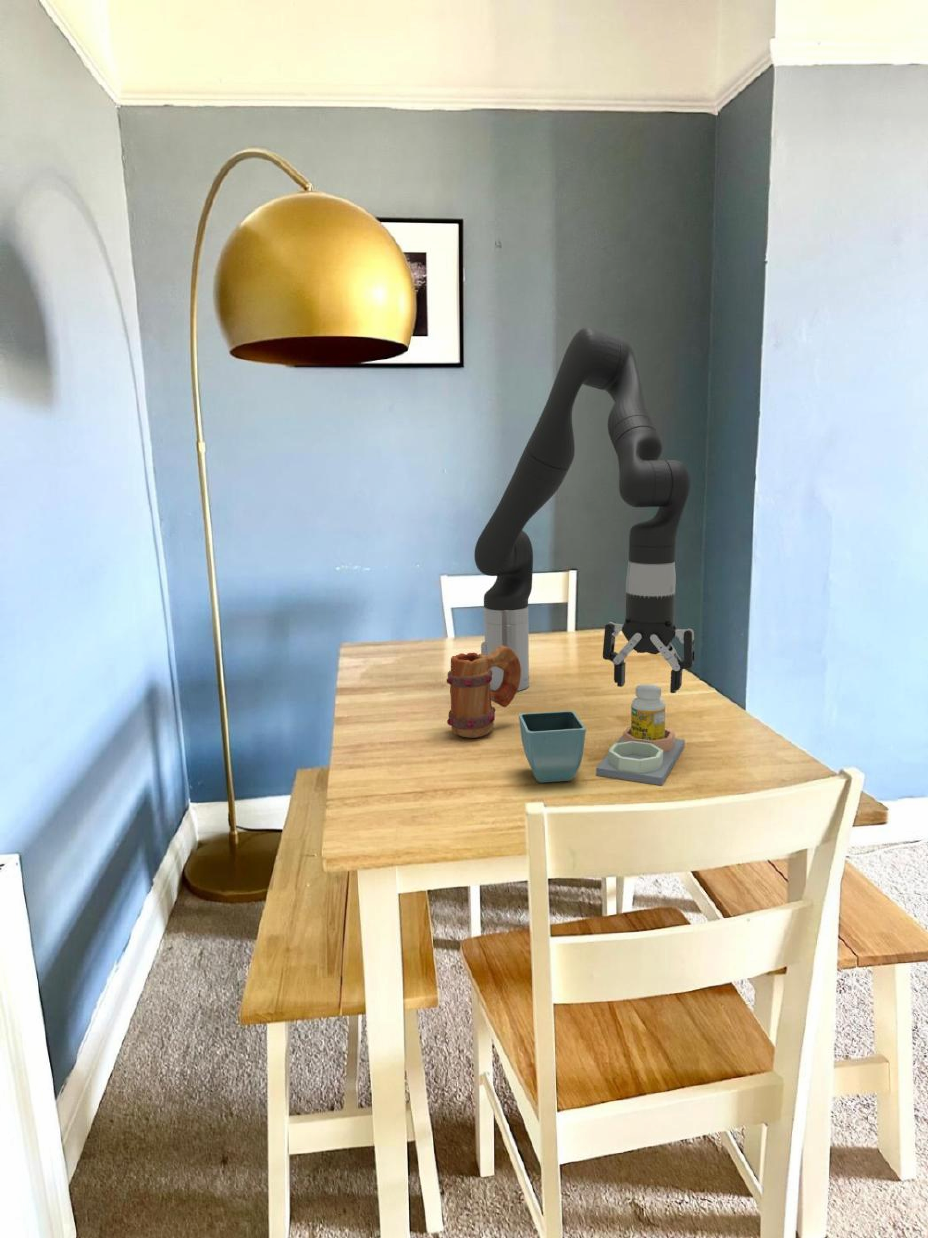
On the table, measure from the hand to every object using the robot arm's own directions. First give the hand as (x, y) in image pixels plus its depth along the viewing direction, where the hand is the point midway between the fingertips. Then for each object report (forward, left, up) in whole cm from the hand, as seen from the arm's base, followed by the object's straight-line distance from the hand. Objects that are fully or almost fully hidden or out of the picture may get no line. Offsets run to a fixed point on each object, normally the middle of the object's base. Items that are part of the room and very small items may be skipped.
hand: (646, 688), depth 128 cm
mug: (-29, -1, -11) cm, 31 cm away
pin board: (0, -4, -11) cm, 11 cm away
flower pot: (-11, -15, -11) cm, 22 cm away
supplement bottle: (0, 0, -10) cm, 10 cm away
